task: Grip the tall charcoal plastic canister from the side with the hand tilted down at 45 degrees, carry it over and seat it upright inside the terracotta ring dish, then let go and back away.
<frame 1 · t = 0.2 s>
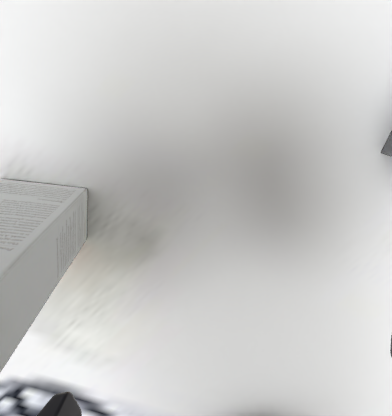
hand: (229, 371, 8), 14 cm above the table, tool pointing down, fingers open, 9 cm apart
skincare box: (48, 209, 22), on the table
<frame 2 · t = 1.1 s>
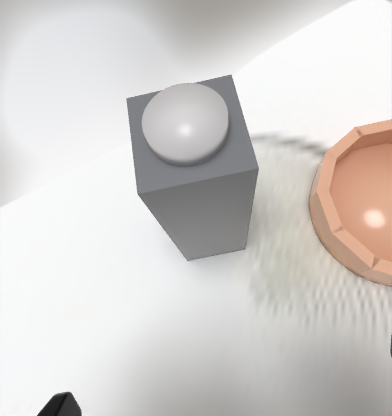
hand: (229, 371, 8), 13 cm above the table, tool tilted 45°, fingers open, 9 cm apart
ring dish: (388, 209, 23), on the table
canister: (210, 227, 24), on the table
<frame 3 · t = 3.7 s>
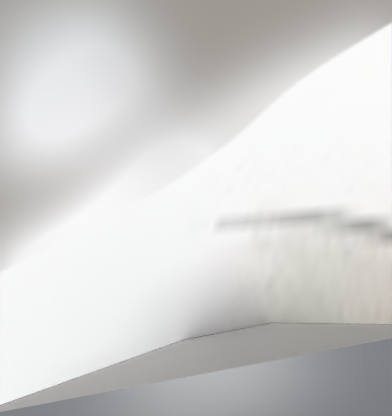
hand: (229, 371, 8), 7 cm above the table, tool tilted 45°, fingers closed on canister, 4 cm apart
canister: (237, 383, 14), on the table, touching gripper
when the fingers open (8 cm above the table, at t = 7.5 s): canister stays where it is, resting on ring dish.
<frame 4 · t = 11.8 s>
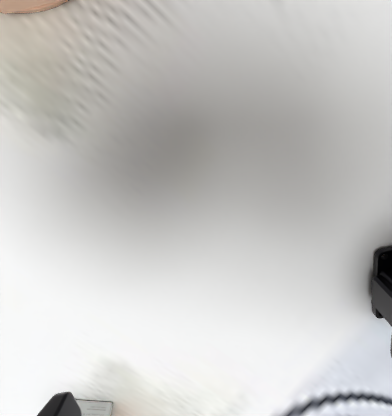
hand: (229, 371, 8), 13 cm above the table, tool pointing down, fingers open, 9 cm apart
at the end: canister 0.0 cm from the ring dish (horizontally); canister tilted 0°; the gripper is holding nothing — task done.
